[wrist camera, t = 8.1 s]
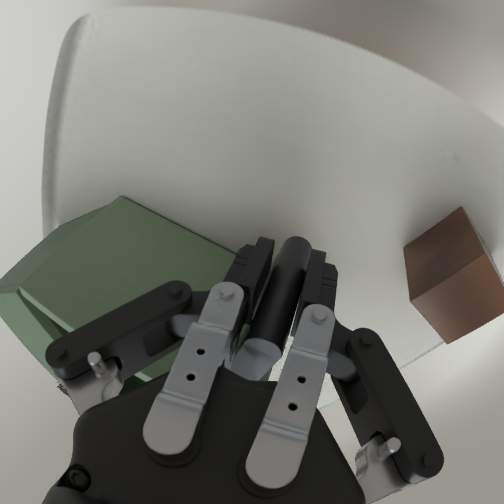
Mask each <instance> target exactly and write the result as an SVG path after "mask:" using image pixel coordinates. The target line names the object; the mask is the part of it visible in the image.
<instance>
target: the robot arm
mask: <svg viewBox="0 0 504 504" xmlns="http://www.w3.org/2000/svg"><path fill="white" fill-rule="evenodd" d="M274 243H275V240H272V239H268V238H264V237H259V239H258V241H257V243H256V245H255V246H253V245H248V244H247V245H245V246H244V247H242V248H241V249H240V250H239V251H238V253H237V255H236V257H235V259H234V261H233V263H232V264H231V266H230V268H229V270H228V272H227V274H226V276H225V278H224V279H223V281H222V282H221V283H218V284H216V285H215V286H213V288H212V289H211V290H209V291H192V289H191V287H190V285H189V284H187V283H186V282H184V281H180V280H173V281H169V282H167V283H165V284H163V285H161V286H159V287H157V288H155V289H153V290H151V291H149V292H147V293H145V294H143V295H141V296H139V297H137V298H135V299H133V300H131V301H130V302H128V303H126V304H124V305H122V306H120V307H118V308H116V309H114V310H112V311H110V312H108V313H106V314H104V315H102V316H100V317H99V318H97V319H95V320H93V321H91V322H89V323H87V324H85V325H83V326H81V327H79V328H77V329H75V330H74V331H72V332H70V333H68V334H66V335H64V336H62V337H60V338H58V339H56V340H55V341H53V342H52V343H50V344H49V346H48V347H47V349H46V352H45V359H46V362H47V363H48V365H49V366H50V367H51V369H52V370H53V372H54V374H55V376H56V377H57V378H58V379H59V381H60V382H61V383H62V385H63V386H64V387H65V388H66V390H67V392H68V394H69V396H70V398H71V400H72V402H73V404H74V406H75V408H76V410H77V411H78V413H79V415H80V417H79V418H78V421H77V422H76V424H75V427H74V432H73V453H72V458H71V462H70V465H69V467H68V469H67V470H66V472H65V473H64V474H63V475H62V477H61V478H60V479H59V480H58V481H57V482H56V483H55V484H54V485H53V486H52V487H51V488H50V490H49V492H48V493H47V495H46V497H45V499H44V501H43V503H42V504H371V503H373V502H375V501H377V500H380V499H382V498H384V497H386V496H388V495H390V494H392V493H395V492H398V491H401V490H403V489H406V488H408V487H411V486H413V485H415V484H418V483H420V482H422V481H424V480H427V479H429V478H431V477H433V476H435V475H437V474H438V473H439V471H440V470H441V469H442V466H443V463H444V456H443V452H442V450H441V448H440V446H439V444H438V442H437V440H436V438H435V436H434V434H433V432H432V430H431V428H430V426H429V424H428V422H427V421H426V419H425V417H424V415H423V414H422V411H421V409H420V407H419V405H418V404H417V402H416V400H415V398H414V397H413V394H412V393H411V391H410V389H409V387H408V385H407V383H406V382H405V380H404V378H403V376H402V375H401V373H400V371H399V369H398V368H397V366H396V364H395V362H394V361H393V359H392V357H391V355H390V354H389V352H388V350H387V349H386V347H385V345H384V343H383V342H382V340H381V338H380V337H379V335H378V334H377V333H375V332H374V331H373V330H370V329H367V328H358V329H356V330H354V331H351V330H349V329H348V328H346V327H344V326H342V325H341V324H340V323H339V322H338V321H337V319H336V318H335V315H334V307H335V298H336V287H337V278H338V272H337V270H336V267H335V265H332V264H328V263H325V258H326V252H323V251H319V250H315V249H312V250H311V253H310V258H309V262H308V266H307V270H306V274H305V278H304V282H303V286H302V290H301V294H300V298H299V303H298V307H297V311H296V315H295V319H294V323H293V327H292V331H291V335H290V336H293V337H294V340H293V343H292V345H291V347H290V350H289V353H288V356H287V358H286V361H285V364H284V367H283V370H282V372H281V375H280V378H279V380H278V382H277V381H256V380H247V379H245V378H243V377H241V376H240V375H238V374H236V373H234V372H233V371H231V370H230V368H231V364H232V361H233V357H234V354H235V351H236V348H237V344H238V341H239V338H240V333H241V331H242V328H243V326H244V324H247V325H250V323H251V320H252V319H253V316H254V313H255V311H256V308H257V305H258V303H259V300H260V297H261V295H262V292H263V289H264V287H265V284H266V281H267V279H268V276H269V272H270V268H271V263H272V256H273V250H274ZM179 347H181V348H180V350H179V352H178V355H177V357H176V359H175V361H174V364H173V366H172V368H171V370H170V371H168V372H166V373H164V374H162V375H160V376H158V377H156V378H154V379H152V380H150V381H147V382H145V383H143V384H141V385H139V386H137V387H135V388H133V389H130V390H128V391H126V392H124V393H122V394H119V392H120V391H121V389H122V388H123V384H124V380H126V379H128V378H129V377H131V376H133V375H134V374H136V373H138V372H139V371H141V370H143V369H144V368H146V367H148V366H150V365H151V364H153V363H155V362H156V361H158V360H160V359H161V358H163V357H164V356H166V355H168V354H169V353H171V352H173V351H174V350H176V349H178V348H179ZM325 372H327V373H328V374H330V375H331V379H332V382H333V384H334V386H335V388H336V391H337V393H338V395H339V397H340V400H341V402H342V404H343V406H344V408H345V411H346V413H347V416H348V418H349V420H350V422H351V425H352V427H353V429H354V432H355V434H356V436H357V438H358V441H359V443H360V445H361V448H360V449H359V450H358V452H357V454H356V457H355V463H356V467H357V472H356V476H355V475H354V473H353V471H352V470H351V468H350V466H349V464H348V462H347V461H346V459H345V457H344V455H343V453H342V451H341V450H340V448H339V446H338V444H337V442H336V440H335V439H334V437H333V435H332V433H331V431H330V429H329V428H328V426H327V424H326V422H325V420H324V418H323V416H322V415H321V413H320V411H319V410H318V409H317V407H316V406H317V403H318V399H319V395H320V392H321V388H322V384H323V380H324V376H325ZM118 394H119V395H118Z"/></svg>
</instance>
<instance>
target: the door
mask: <svg viewBox="0 0 504 504" xmlns="http://www.w3.org/2000/svg"><path fill="white" fill-rule="evenodd" d="M311 250H312V247H311V245H310V243H309V242H308V241H307V240H306V239H304V238H302V237H298V236H294V237H290V238H288V239H287V240H286V241H285V242H284V244H283V246H282V248H281V249H280V251H279V253H278V255H277V256H276V258H275V260H274V262H273V263H272V265H271V268H270V272H269V276H268V279H267V281H266V284H265V287H264V289H263V292H262V295H261V297H260V300H259V303H258V305H257V308H256V311H255V313H254V316H253V319H252V320H251V323H250V325H247V324H244V326H243V328H242V331H241V333H240V338H239V341H238V344H237V348H236V351H235V354H234V357H233V361H232V364H231V368H230V370H231V371H233V372H234V373H236V374H238V375H240V376H241V377H243V378H245V379H247V380H256V381H268V379H269V376H270V373H271V370H272V367H273V365H274V364H275V363H276V362H277V361H278V360H279V359H280V358H281V357H282V355H283V352H284V348H285V345H286V342H287V339H288V335H289V332H290V329H291V325H292V322H293V318H294V315H295V311H296V308H297V304H298V301H299V297H300V294H301V290H302V286H303V282H304V278H305V274H306V270H307V266H308V262H309V258H310V253H311ZM235 257H236V255H235V254H233V253H231V252H230V251H228V250H226V249H224V248H222V247H220V246H218V245H216V244H214V243H212V242H210V241H208V240H206V239H204V238H202V237H200V236H198V235H196V234H194V233H192V232H190V231H188V230H186V229H184V228H182V227H180V226H178V225H176V224H174V223H172V222H171V221H169V220H167V219H165V218H163V217H161V216H159V215H157V214H155V213H153V212H151V211H149V210H147V209H145V208H143V207H141V206H139V205H137V204H135V203H134V202H132V201H130V200H128V199H126V198H124V197H122V196H120V197H119V198H117V199H116V200H115V201H113V202H112V203H111V204H110V205H108V206H107V207H106V208H104V209H103V210H102V211H101V212H99V213H98V214H97V215H96V216H95V217H93V218H92V219H91V220H90V221H89V222H87V223H86V224H85V225H84V226H83V227H81V228H80V229H79V230H78V231H77V232H75V233H74V234H73V235H72V236H71V237H70V238H69V239H67V240H66V241H65V242H64V243H63V244H62V245H61V246H60V247H58V248H57V249H56V250H55V251H54V252H53V253H52V254H51V255H50V256H49V257H48V258H46V259H45V260H44V261H43V262H42V263H41V264H40V265H39V266H38V267H37V268H36V269H35V270H34V271H33V272H32V273H31V274H30V275H29V276H28V277H27V278H26V279H25V280H24V281H23V282H22V283H21V284H20V285H19V288H20V291H21V293H22V295H23V296H24V297H25V298H26V299H27V300H29V301H30V302H31V303H32V304H33V305H35V306H36V307H37V308H38V309H40V310H41V311H42V312H43V313H45V314H46V315H47V316H48V317H50V318H51V319H52V320H54V321H55V322H56V323H57V324H59V325H60V326H61V327H63V328H64V329H65V330H67V331H68V332H72V331H74V330H75V329H77V328H79V327H81V326H83V325H85V324H87V323H89V322H91V321H93V320H95V319H97V318H99V317H100V316H102V315H104V314H106V313H108V312H110V311H112V310H114V309H116V308H118V307H120V306H122V305H124V304H126V303H128V302H130V301H131V300H133V299H135V298H137V297H139V296H141V295H143V294H145V293H147V292H149V291H151V290H153V289H155V288H157V287H159V286H161V285H163V284H165V283H167V282H169V281H173V280H180V281H184V282H186V283H187V284H189V285H190V287H191V289H192V291H209V290H211V289H212V288H213V286H215V285H216V284H218V283H221V282H222V281H223V279H224V278H225V276H226V274H227V272H228V270H229V268H230V266H231V264H232V263H233V261H234V259H235ZM180 348H181V347H179V348H178V349H176V350H174V351H173V352H171V353H169V354H168V355H166V356H164V357H163V358H161V359H160V360H158V361H156V362H155V363H153V364H151V365H150V366H148V367H146V368H144V369H143V370H141V371H139V372H138V373H136V374H134V375H135V376H137V377H138V378H140V379H142V380H144V381H145V382H147V381H150V380H152V379H154V378H156V377H158V376H160V375H162V374H164V373H166V372H168V371H170V370H171V368H172V366H173V364H174V361H175V359H176V357H177V355H178V352H179V350H180Z"/></svg>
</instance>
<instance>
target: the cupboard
mask: <svg viewBox="0 0 504 504" xmlns="http://www.w3.org/2000/svg"><path fill="white" fill-rule="evenodd" d="M109 205H110V204H109ZM107 206H108V205H107ZM107 206H104V207H102V208H100V209H97V210H95V211H93V212H90V213H88V214H86V215H84V216H81V217H79V218H77V219H75V220H72V221H70V222H68V223H66V224H64V225H61V226H59V227H58V228H57V229H55V230H54V231H53V232H52V233H51V234H49V235H48V236H47V237H46V238H45V239H44V240H42V241H41V242H40V243H39V244H38V245H37V246H36V247H34V248H33V249H32V250H31V251H30V252H29V253H28V254H27V255H25V257H23V258H22V259H21V260H20V261H19V262H18V263H17V264H16V265H15V266H14V267H13V268H12V269H11V270H9V271H8V272H7V273H6V274H5V275H4V276H3V277H2V278H1V279H0V316H1V318H2V319H3V320H4V322H5V323H6V324H7V325H8V327H9V328H10V329H11V330H12V332H13V333H14V334H15V335H16V336H17V338H18V339H19V340H20V341H21V342H22V343H23V345H24V346H25V347H26V348H27V349H28V350H29V351H30V352H31V354H32V355H33V356H34V357H35V358H36V359H37V360H38V361H39V362H40V363H41V364H42V365H43V366H44V367H45V368H46V370H47V371H48V372H49V373H50V374H51V375H53V377H54V378H55V379H56V380H58V382H60V381H59V379H58V378H57V377H56V376H55V374H54V372H53V370H52V369H51V367H50V366H49V365H48V363H47V362H46V359H45V352H46V349H47V347H48V346H49V344H50V343H52V342H53V341H55V340H56V339H58V338H60V337H62V336H64V335H66V334H68V333H70V332H68V331H67V330H65V329H64V328H63V327H61V326H60V325H59V324H57V323H56V322H55V321H54V320H52V319H51V318H50V317H48V316H47V315H46V314H45V313H43V312H42V311H41V310H40V309H38V308H37V307H36V306H35V305H33V304H32V303H31V302H30V301H29V300H27V299H26V298H25V297H24V296H23V295H22V293H21V291H20V288H19V285H20V284H21V283H22V282H23V281H24V280H25V279H26V278H27V277H28V276H29V275H30V274H31V273H32V272H33V271H34V270H35V269H36V268H37V267H38V266H39V265H40V264H41V263H42V262H43V261H44V260H45V259H46V258H48V257H49V256H50V255H51V254H52V253H53V252H54V251H55V250H56V249H57V248H58V247H60V246H61V245H62V244H63V243H64V242H65V241H66V240H67V239H69V238H70V237H71V236H72V235H73V234H74V233H75V232H77V231H78V230H79V229H80V228H81V227H83V226H84V225H85V224H86V223H87V222H89V221H90V220H91V219H92V218H93V217H95V216H96V215H97V214H98V213H99V212H101V211H102V210H103V209H104V208H106V207H107ZM60 383H61V382H60ZM143 383H145V381H144V380H142V379H140V378H138V377H137V376H135V375H133V376H131V377H129V378H128V379H126V380H124V384H123V388H122V389H121V391H120V392H119V394H122V393H124V392H126V391H128V390H130V389H133V388H135V387H137V386H139V385H141V384H143ZM61 384H62V383H61ZM119 394H118V395H119Z"/></svg>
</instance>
